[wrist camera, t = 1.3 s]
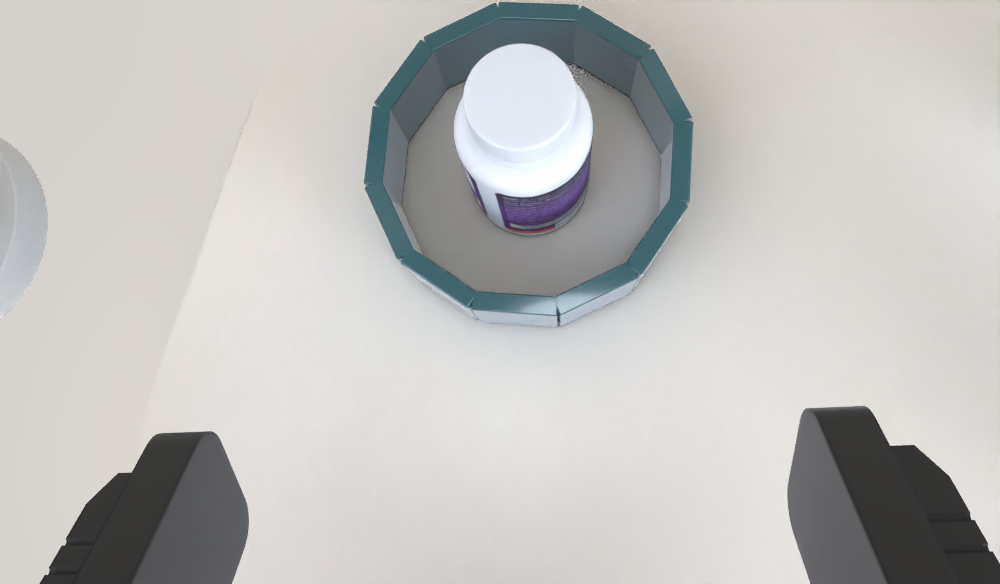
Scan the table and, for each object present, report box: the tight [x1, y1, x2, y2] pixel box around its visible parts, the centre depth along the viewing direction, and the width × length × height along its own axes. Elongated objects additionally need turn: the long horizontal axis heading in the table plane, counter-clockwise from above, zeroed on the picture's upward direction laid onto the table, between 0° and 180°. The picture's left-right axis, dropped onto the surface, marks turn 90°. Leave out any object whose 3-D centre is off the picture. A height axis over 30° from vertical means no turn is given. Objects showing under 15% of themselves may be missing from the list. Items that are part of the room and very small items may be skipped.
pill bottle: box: [454, 44, 593, 235], centre depth 31 cm, size 5×5×10 cm
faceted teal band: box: [364, 2, 693, 328], centre depth 34 cm, size 14×14×4 cm
